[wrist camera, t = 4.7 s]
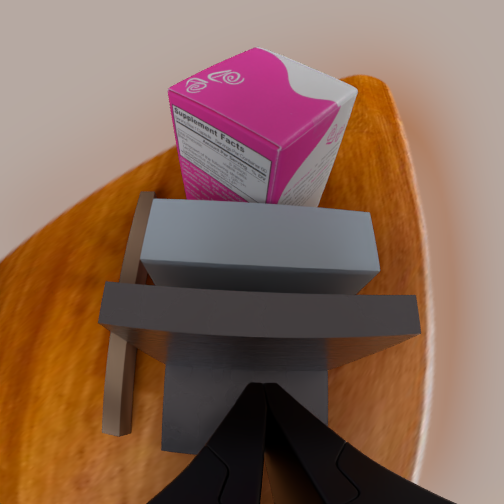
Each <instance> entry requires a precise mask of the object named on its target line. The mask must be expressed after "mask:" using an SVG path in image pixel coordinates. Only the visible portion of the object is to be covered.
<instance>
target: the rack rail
mask: <svg viewBox="0 0 504 504" xmlns="http://www.w3.org/2000/svg"><path fill="white" fill-rule="evenodd" d="M153 199H157V197H156V194H155V192H141V193H140V196H139V200H138V203H137V207H136V211H135V215H134V219H133V222H132V226H131V230H130V235H129V239H128V243H127V247H126V252H125V256H124V261H123V266H122V270H121V275H120V280H119V283H129V284H140V285H146V279H147V273H148V272H147V270H146V268H145V267H144V265H143V263H142V261H141V260H140V256H141V251H142V246H143V242H144V237H145V232H146V228H147V223H148V219H149V215H150V210H151V206H152V202H153ZM136 353H137V348H136V347H135V346H133V345H131V344H130V343H128V342H127V341H125V340H123V339H122V338H120V337H119V336H117V335H116V334H114V333H112V332H111V334H110V341H109V349H108V358H107V367H106V377H105V388H104V402H103V419H102V433H105V434H110V435H114V436H119V437H120V436H123V435H127V434H130V433H131V417H132V399H133V385H134V373H135V363H136Z"/></svg>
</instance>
